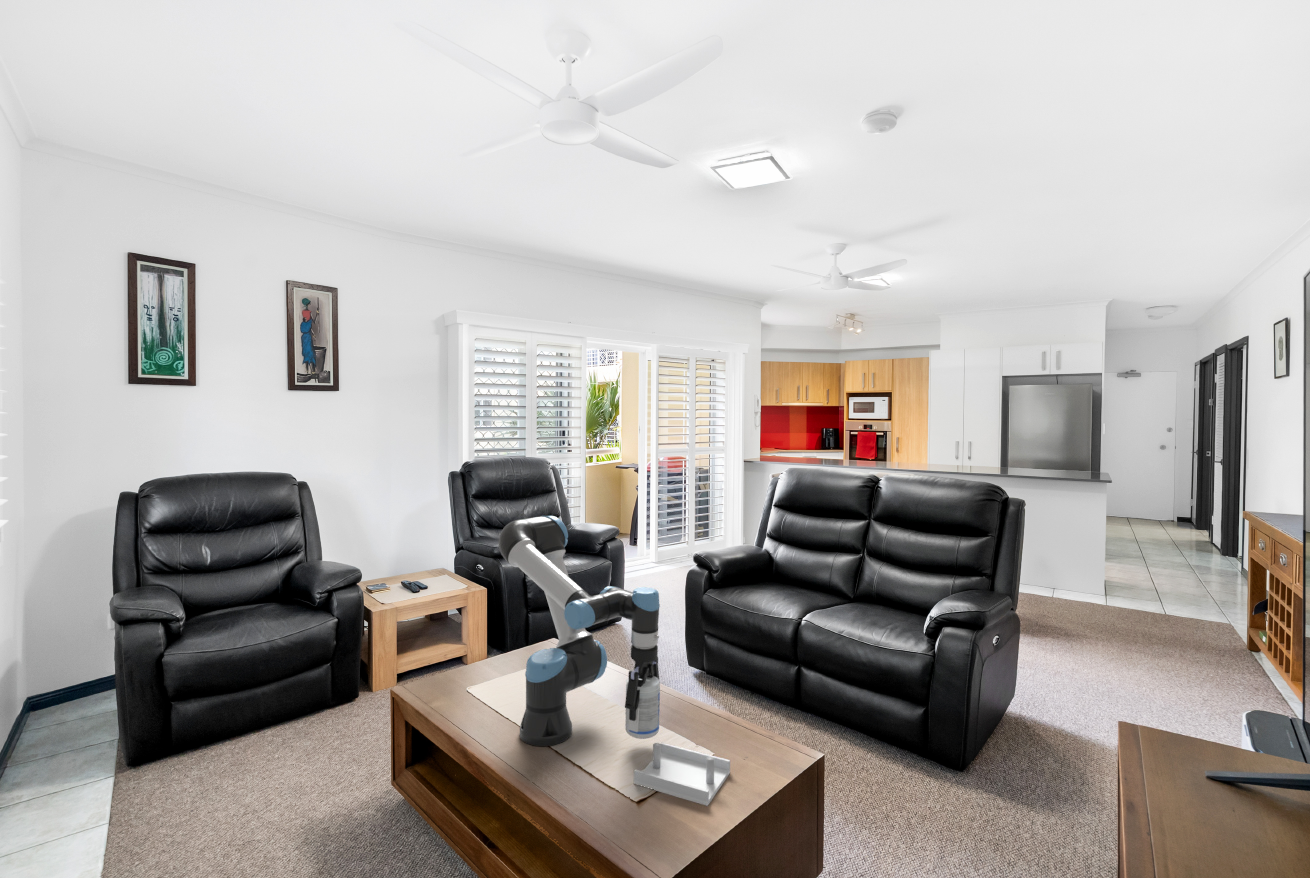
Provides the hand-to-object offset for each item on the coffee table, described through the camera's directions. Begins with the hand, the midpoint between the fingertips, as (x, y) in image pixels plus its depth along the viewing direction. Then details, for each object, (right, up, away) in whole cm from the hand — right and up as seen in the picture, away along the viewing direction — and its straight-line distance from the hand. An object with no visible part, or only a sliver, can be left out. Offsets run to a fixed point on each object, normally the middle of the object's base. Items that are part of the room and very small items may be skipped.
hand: (642, 722), depth 181 cm
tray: (+11, -8, -15) cm, 20 cm away
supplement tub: (0, -3, 0) cm, 3 cm away
